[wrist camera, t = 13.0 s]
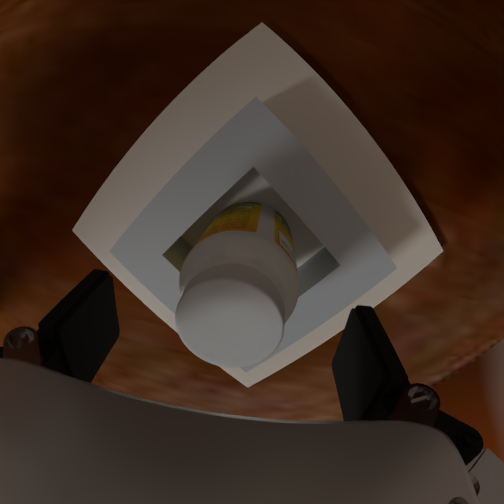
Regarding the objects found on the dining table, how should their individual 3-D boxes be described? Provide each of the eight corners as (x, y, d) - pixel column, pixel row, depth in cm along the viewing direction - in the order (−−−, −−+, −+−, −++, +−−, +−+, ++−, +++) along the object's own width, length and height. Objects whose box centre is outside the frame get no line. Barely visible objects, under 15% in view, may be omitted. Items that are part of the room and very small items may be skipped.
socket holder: (248, 381, 25) (244, 417, 21) (77, 227, 20) (45, 246, 16) (438, 246, 19) (467, 271, 15) (262, 26, 14) (259, -1, 10)
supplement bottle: (306, 223, 18) (336, 304, 10) (267, 289, 20) (261, 396, 11) (230, 184, 18) (187, 231, 9) (196, 255, 20) (142, 345, 11)
